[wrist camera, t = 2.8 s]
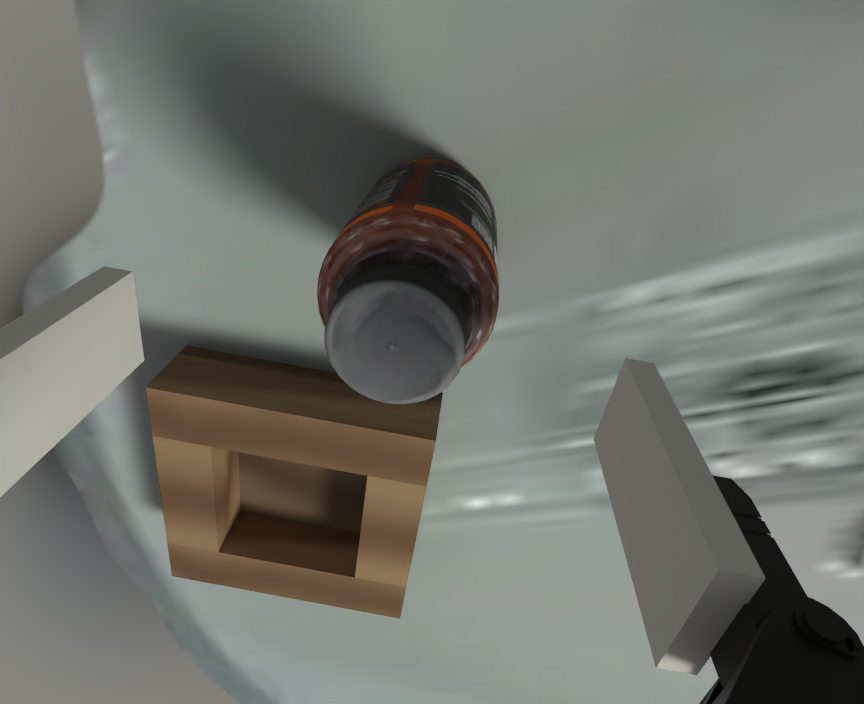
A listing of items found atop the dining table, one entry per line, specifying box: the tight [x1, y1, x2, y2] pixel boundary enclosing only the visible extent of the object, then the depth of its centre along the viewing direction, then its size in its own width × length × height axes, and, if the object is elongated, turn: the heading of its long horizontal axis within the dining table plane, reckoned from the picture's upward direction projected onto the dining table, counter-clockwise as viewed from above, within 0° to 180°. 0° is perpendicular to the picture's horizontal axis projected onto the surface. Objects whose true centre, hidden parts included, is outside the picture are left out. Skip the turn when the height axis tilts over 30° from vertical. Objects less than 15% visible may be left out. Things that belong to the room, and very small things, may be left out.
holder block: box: [146, 346, 443, 618], centre depth 31 cm, size 14×14×4 cm
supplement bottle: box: [317, 159, 499, 404], centre depth 20 cm, size 6×6×11 cm
